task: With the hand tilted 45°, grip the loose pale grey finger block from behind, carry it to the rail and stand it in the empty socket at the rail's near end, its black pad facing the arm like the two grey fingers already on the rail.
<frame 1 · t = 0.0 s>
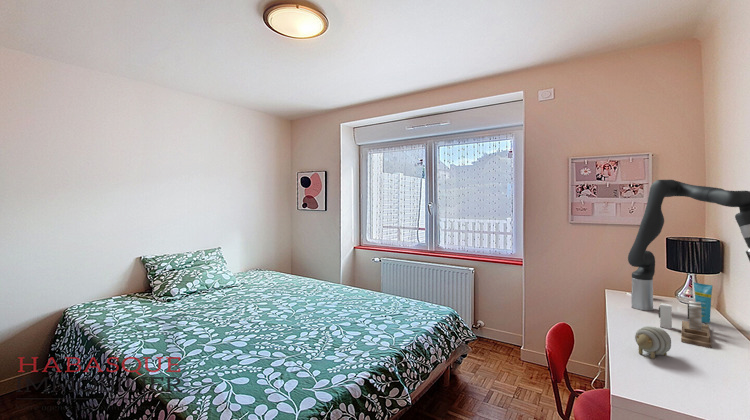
tube: (703, 321, 159), on the table
toy sheep: (654, 355, 126), on the table
grey finger: (666, 327, 153), on the table
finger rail: (695, 334, 144), on the table
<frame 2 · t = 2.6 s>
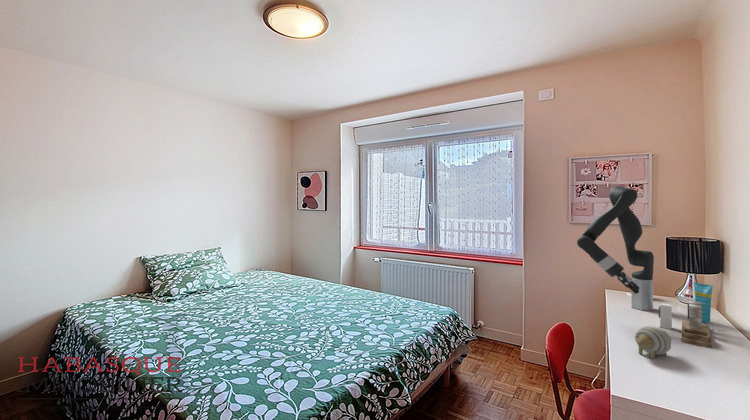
hand: (638, 291, 160), 16 cm above the table, tool tilted 45°, fingers open, 8 cm apart
nothing on the table moved.
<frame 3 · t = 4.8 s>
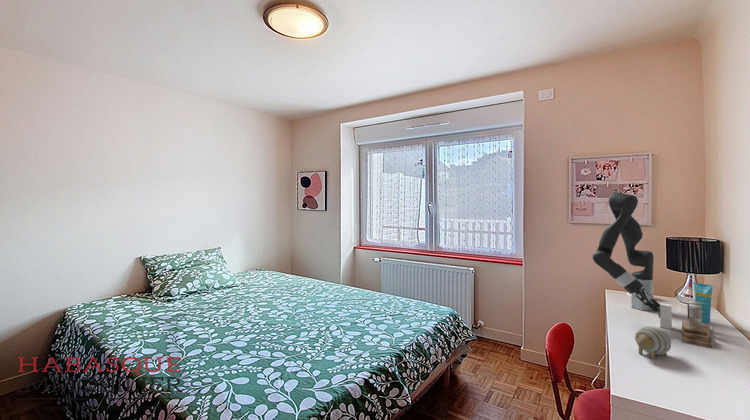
hand: (658, 309, 154), 8 cm above the table, tool tilted 45°, fingers open, 8 cm apart
nothing on the table moved.
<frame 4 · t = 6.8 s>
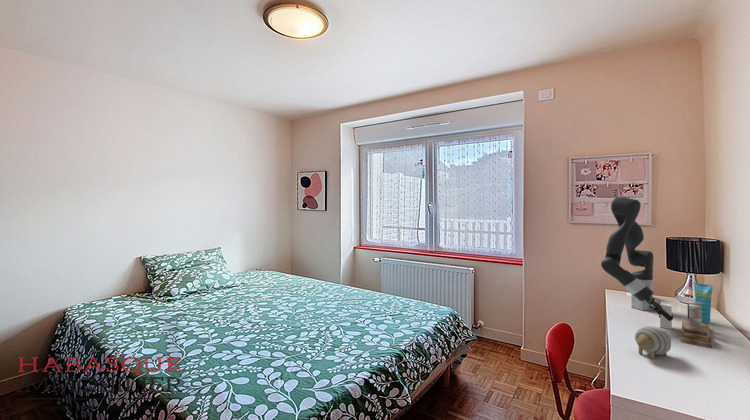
hand: (671, 318, 151), 5 cm above the table, tool tilted 45°, fingers closed on grey finger, 3 cm apart
grey finger: (666, 327, 153), on the table, touching gripper
everything else where it was.
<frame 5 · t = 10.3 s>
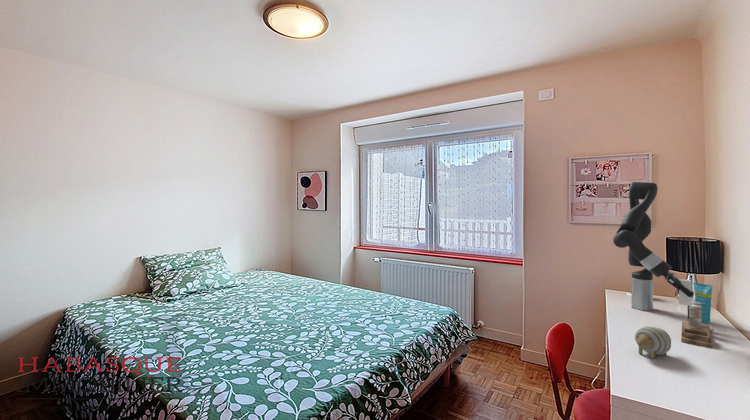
hand: (691, 295, 140), 19 cm above the table, tool tilted 45°, fingers closed on grey finger, 3 cm apart
grey finger: (685, 304, 142), point 15 cm above the table, touching gripper
everything else where it was.
when the fingers open (7 cm above the table, at t = 13.9 s): grey finger stays where it is, resting on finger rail.
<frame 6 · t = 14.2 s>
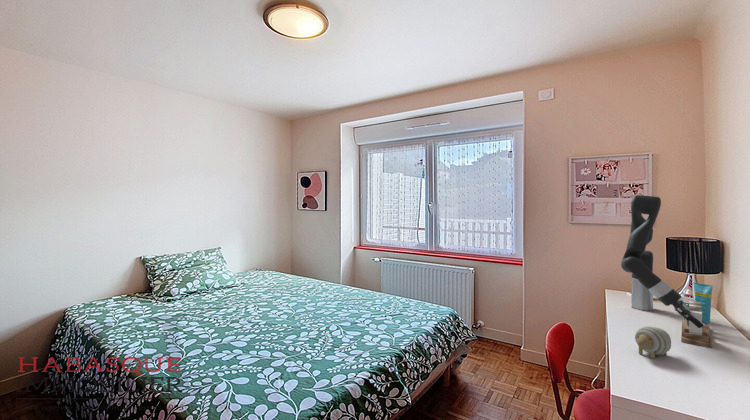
hand: (701, 324, 137), 7 cm above the table, tool tilted 45°, fingers open, 6 cm apart
grey finger: (695, 336, 138), point 2 cm above the table, touching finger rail
everything else where it was.
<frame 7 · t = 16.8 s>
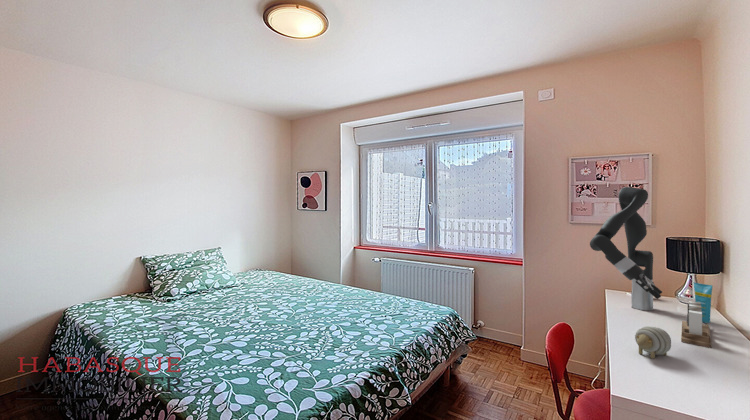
hand: (659, 295, 146), 18 cm above the table, tool tilted 45°, fingers open, 8 cm apart
nothing on the table moved.
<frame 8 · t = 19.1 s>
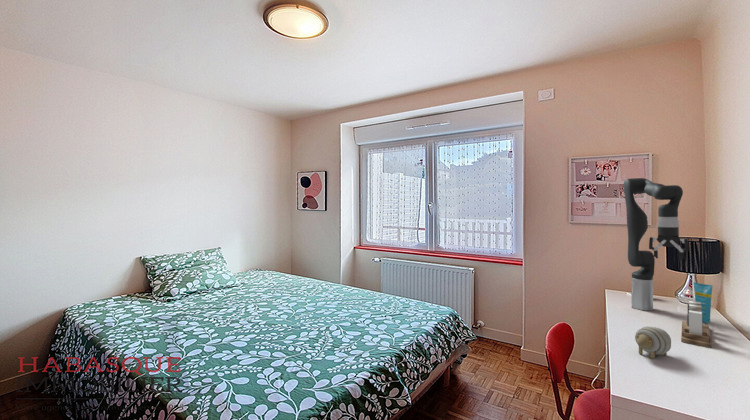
hand: (668, 259, 154), 33 cm above the table, tool pointing down, fingers open, 8 cm apart
nothing on the table moved.
at the end: grey finger 0.1 cm from the target spot on the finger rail, point 1.5 cm above the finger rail's base; grey finger tilted 0°; the gripper is holding nothing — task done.
